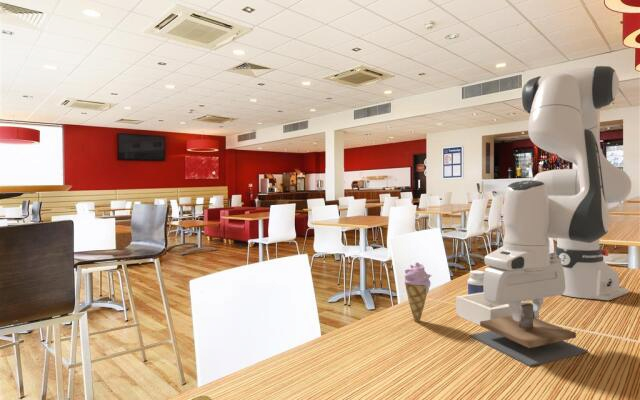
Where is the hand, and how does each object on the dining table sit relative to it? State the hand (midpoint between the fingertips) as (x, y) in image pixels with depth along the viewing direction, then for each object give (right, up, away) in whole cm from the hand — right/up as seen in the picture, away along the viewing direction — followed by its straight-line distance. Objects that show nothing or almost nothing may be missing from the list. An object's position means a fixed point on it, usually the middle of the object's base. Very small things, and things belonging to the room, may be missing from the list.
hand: (525, 319), depth 83 cm
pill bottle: (+1, -5, +27) cm, 28 cm away
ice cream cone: (-19, -6, +15) cm, 25 cm away
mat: (0, -6, 0) cm, 6 cm away
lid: (0, -3, 0) cm, 3 cm away
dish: (0, -5, +16) cm, 17 cm away
